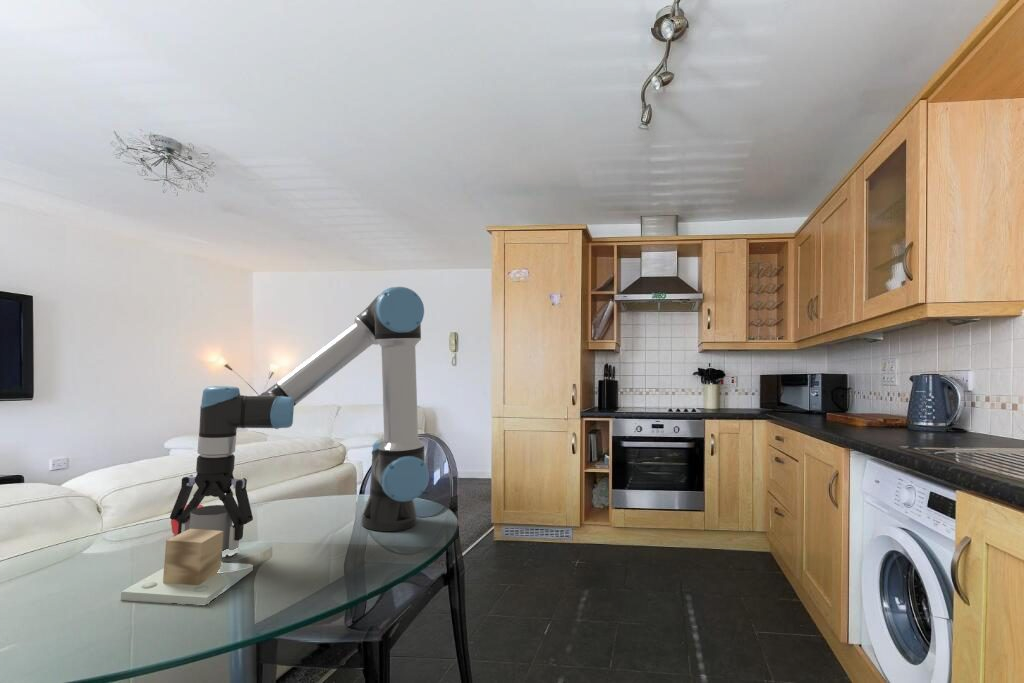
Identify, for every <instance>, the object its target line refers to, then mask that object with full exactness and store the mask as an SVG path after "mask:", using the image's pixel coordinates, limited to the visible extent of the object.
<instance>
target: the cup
mask: <svg viewBox="0 0 1024 683" xmlns="http://www.w3.org/2000/svg"><path fill="white" fill-rule="evenodd" d="M231 526H233V522H232V520H231V518H230V516H229V514H228V512H227V510H226V508H225V506H224V504H214V505H203V507H199V508H196V509H193V510H192V511H191V513H190V526H189V529H201V530H217V531H223V544H222V551H224V550H226V549H229V537H230V527H231Z"/></svg>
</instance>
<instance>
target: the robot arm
mask: <svg viewBox="0 0 1024 683" xmlns="http://www.w3.org/2000/svg"><path fill="white" fill-rule="evenodd" d="M424 316H425V307H424V303H423V301H422V298H421V296H419V295H418V293H416V291H414V290H413V289H411V288H409V287H405V286H394V287H393V286H392V287H389V288H387V289H385V290H383V291H382V292H381V293H380V294H379V295H377V296H376V297H375V298H374V299H373V300H372V301H371V302H370V304H369V305H368V306H367V307H366V308H365V309H363V311H362V312H360V313H359V314H358V315H356V316H354V322H353V323H352V324H351V325H349V327H347V328H346V329H344V331H342V332H341V333H340V334H338V335H337V336H336V337H334V338H333V339H332V340H330V341H329V342H328V343H326V344H325V345H324V346H323V347H321V348H320V349H319V350H318V351H317V350H316V352H315V353H313V354H312V355H311V356H310V357H308V358H307V359H305V361H303V362H302V363H301V364H299V365H298V366H297V367H296V368H294V369H292V371H290V372H289V373H287V375H284V377H282V378H281V379H280V380H278V381H277V382H276V383H275V384H273V385H272V386H271V387H269V388H268V389H266V391H264V392H262V393H260V394H259V395H243V394H241V393H240V391H241V390H240V388H239V387H237V386H227V385H226V386H224V385H222V386H221V385H220V386H219V385H213V386H207V387H205V388H203V390H202V397H201V404H200V407H199V408H200V411H199V413H200V414H199V416H200V417H199V428H198V430H199V431H198V443H197V450H196V451H197V454H199V455H198V456H197V458H196V468H195V471H196V475H195V476H194V475H192V474H190V475H186V476H184V477H182V478H181V487H180V489H179V493H178V495H177V498H176V500H175V502H174V505H173V508H172V511H171V513H170V516H169V518H170V520H176V521H178V523H179V526H178V534H180V533H182V532H184V531H186V530H189V526H190V520H189V519H190V513H191V511H192V510H193V509H196V508H197V507H198V505H201V503H202V501H203V500H204V498H205V497H210V496H211V497H214V498H218V499H219V500H220V502H222V503H223V504H222V505H224V506H225V508H226V510H227V512H228V514H229V516H230V518H231V520H232V526H231V527H230V537H229V550H234V549H236V548H238V547H239V546H240V541H241V540H242V539H243V537H244V527H245V525H246V524H248V523H251V522H253V519H254V517H253V513H252V508H251V505H250V500H249V496H248V492H247V482H248V481H247V480H248V479H247V478H245V477H244V478H240V479H239V478H235V476H234V474H233V473H234V470H235V460H236V458H235V457H236V456H235V455H234V453H236V445H237V444H236V441H237V432H238V429H275V430H279V429H287V428H289V429H290V427H292V426H293V424H294V423H293V422H294V410H295V409H294V408H295V406H297V404H299V403H300V402H301V401H303V400H304V399H305V398H306V397H307V396H309V395H310V394H311V393H312V392H314V391H315V390H317V389H318V388H319V387H320V386H321V385H323V384H324V383H325V382H327V381H328V380H329V379H331V377H333V376H334V375H335V374H336V373H338V372H339V371H340V370H342V369H343V368H344V367H346V366H347V365H348V364H349V363H351V362H352V361H353V360H354V359H356V358H357V357H358V356H360V355H361V354H362V353H363V352H364V351H366V350H367V349H368V348H370V347H371V346H372V345H376V346H377V345H379V346H380V347H381V370H382V372H381V374H382V376H381V377H382V379H381V380H382V406H383V407H382V408H383V439H384V440H378V441H375V442H374V443H373V444H372V450H371V467H370V468H371V469H370V470H371V471H370V483H369V484H370V486H369V487H370V489H369V496H368V499H367V502H366V505H365V507H364V509H363V512H362V514H361V525H362V527H363V528H366V529H369V530H372V531H377V532H397V531H403V530H408V529H411V528H413V527H414V526H416V525H417V524H418V523H417V521H418V513H417V509H416V505H415V501H414V500H416V498H419V497H420V496H421V495H422V494H423V493H424V491H425V490H426V489H427V487H428V484H429V482H430V471H429V467H428V465H427V464H426V462H425V461H426V460H425V443H424V442H423V441H422V440H421V439H420V438H419V430H418V429H419V425H418V395H417V394H418V393H417V392H418V391H417V387H418V386H417V363H416V362H417V358H416V346H417V344H419V343H420V341H421V340H422V327H421V326H422V324H421V323H422V321H423V319H424ZM194 485H196V486H197V489H196V490H195V492H194V493H193V495H192V496H193V497H192V498H191V500H190V501H189V498H190V496H191V493H192V491H193V488H194ZM232 486H233V487H232ZM231 487H232V488H233V489H234V491H235V497H236V498H235V497H234V492H233V491H232V488H231ZM235 499H236V500H235ZM188 501H189V502H188ZM187 503H188V504H187ZM186 505H187V507H186V508H185V506H186ZM184 509H185V510H184ZM188 520H189V521H188ZM238 549H239V548H238Z"/></svg>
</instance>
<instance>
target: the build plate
mask: <svg viewBox="0 0 1024 683" xmlns="http://www.w3.org/2000/svg"><path fill="white" fill-rule="evenodd" d="M163 574H164V567H163V568H161V569H159V570H158V571H155V572H154V573H152V574H150V575H149V576H147V577H145V578H143V579H141V580H140V581H138V582H135V583H134V584H133V585H131V586H128V587H127V588H124V590H122V591H121V592H120V601H127V602H128V601H131V602H144V603H159V604H160V603H161V604H171V603H177V604H176V605H185V604H207V603H208V602H209V601H211V600H212V599H213V598H214V597H215V596H217V595H218V594H219V593H220V592H222V590H223V589H224V588H225V586H226V585H227V583H228V581H226V579H225V578H224V577H223V576H222V575H221V574H218V573H216V574H215V575H213V576H212V577H210V578H209V579H207V580H206V581H204V582H203V583H201V584H200V585H187V584H172V583H163Z"/></svg>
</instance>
